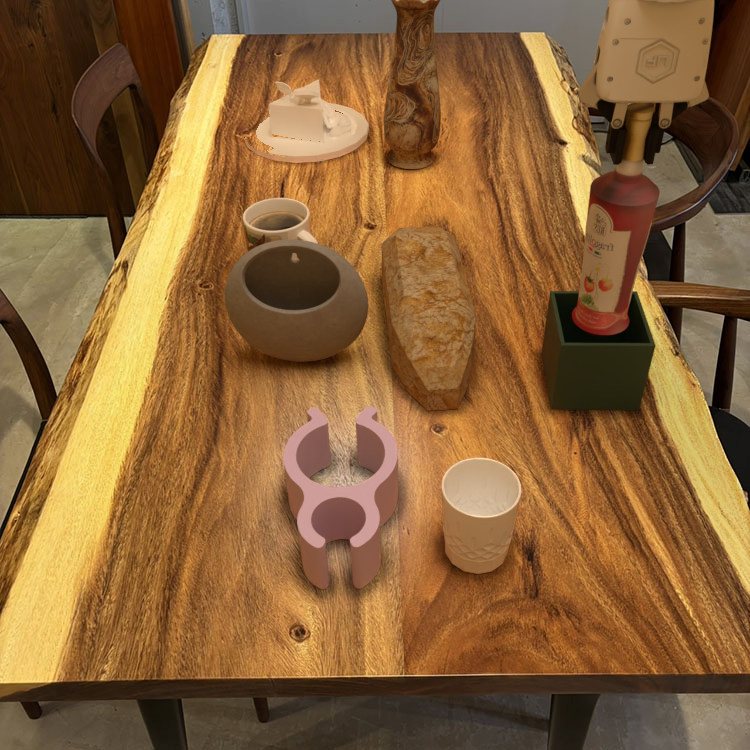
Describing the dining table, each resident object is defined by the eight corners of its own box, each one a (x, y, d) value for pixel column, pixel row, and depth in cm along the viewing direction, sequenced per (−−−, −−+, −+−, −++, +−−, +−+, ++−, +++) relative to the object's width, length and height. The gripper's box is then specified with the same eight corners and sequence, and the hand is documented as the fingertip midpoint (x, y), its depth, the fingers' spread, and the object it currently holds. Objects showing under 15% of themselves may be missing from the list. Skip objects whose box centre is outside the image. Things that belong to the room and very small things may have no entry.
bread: (378, 257, 133) (377, 201, 126) (447, 253, 133) (449, 197, 127) (398, 412, 106) (397, 351, 99) (484, 407, 106) (489, 346, 100)
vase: (373, 157, 159) (368, -10, 139) (414, 140, 164) (416, -23, 144) (410, 177, 153) (411, 5, 133) (452, 158, 158) (459, -10, 138)
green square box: (639, 410, 105) (655, 345, 98) (550, 409, 106) (561, 345, 99) (623, 354, 113) (637, 291, 107) (541, 354, 114) (550, 290, 107)
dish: (347, 169, 155) (344, 110, 148) (223, 154, 161) (214, 97, 154) (383, 114, 173) (382, 59, 166) (270, 103, 179) (264, 49, 171)
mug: (313, 254, 134) (308, 192, 127) (327, 297, 125) (323, 233, 118) (247, 264, 132) (238, 202, 125) (257, 308, 123) (248, 244, 116)
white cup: (450, 585, 86) (454, 523, 80) (430, 526, 92) (432, 464, 86) (523, 571, 87) (532, 509, 81) (499, 513, 93) (506, 451, 87)
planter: (230, 375, 112) (209, 256, 100) (239, 342, 117) (220, 225, 105) (368, 377, 111) (364, 257, 99) (371, 343, 117) (367, 226, 104)
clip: (401, 587, 86) (401, 546, 82) (280, 590, 86) (273, 548, 82) (396, 447, 101) (396, 405, 97) (293, 449, 101) (288, 407, 97)
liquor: (642, 331, 103) (693, 111, 84) (597, 352, 100) (640, 129, 81) (600, 301, 107) (640, 87, 89) (556, 321, 105) (588, 104, 86)
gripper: (582, -13, 74) (557, 176, 86) (768, -16, 74) (717, 175, 86) (570, -37, 80) (549, 143, 92) (743, -40, 79) (699, 142, 91)
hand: (630, 157), depth 89 cm, fingers closed on liquor, 2 cm apart
